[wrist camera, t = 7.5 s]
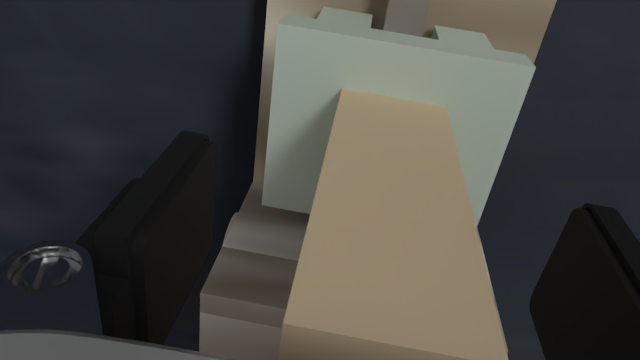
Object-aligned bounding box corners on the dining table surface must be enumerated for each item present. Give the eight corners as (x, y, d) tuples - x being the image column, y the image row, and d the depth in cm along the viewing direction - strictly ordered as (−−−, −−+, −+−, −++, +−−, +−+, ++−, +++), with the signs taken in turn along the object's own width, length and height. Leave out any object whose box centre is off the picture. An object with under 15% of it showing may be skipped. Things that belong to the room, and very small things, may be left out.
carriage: (296, 1, 16) (129, 202, 6) (512, 38, 16) (731, 314, 6) (279, 162, 19) (149, 478, 9) (460, 195, 19) (540, 558, 9)
